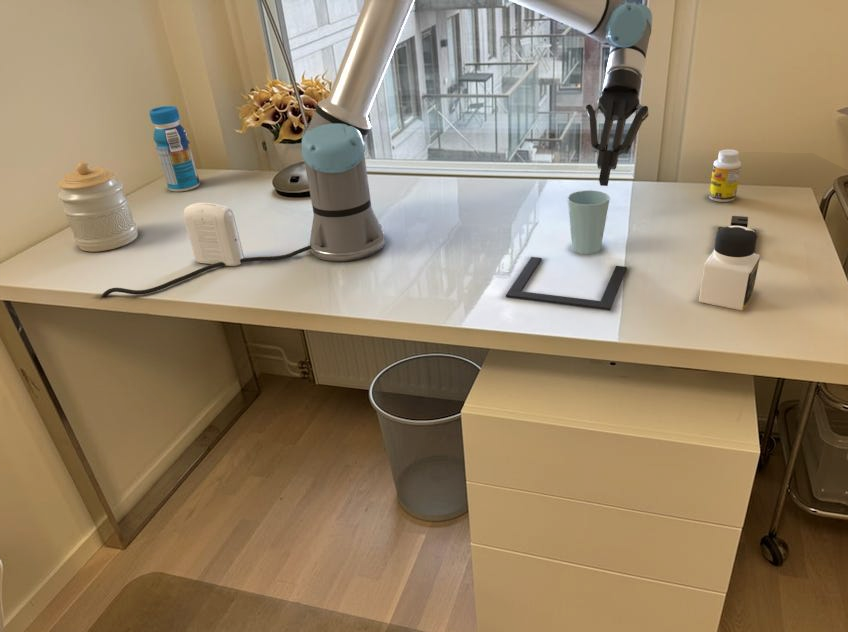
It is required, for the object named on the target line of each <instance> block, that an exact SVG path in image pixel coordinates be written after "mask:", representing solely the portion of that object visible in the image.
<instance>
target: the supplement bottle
mask: <svg viewBox="0 0 848 632" xmlns="http://www.w3.org/2000/svg"><path fill="white" fill-rule="evenodd" d="M739 155H740V151H738V150H735V149H730V148H729V149H722V150H719V151H718V155H717V159H715V160H714V161H713V165H712V172H711V179H710V185H709V191H708V192H709V193H708V197H709V199H711V201H714V202H716V203H717V202H719V203H729V202H732V201H734V200H735V199H736V197H737V191H738V186H739V180H740V175H741V169H742V168H741V167H742V162H741V161H740V160H739Z"/></svg>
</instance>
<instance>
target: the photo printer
mask: <svg viewBox="0 0 848 632" xmlns="http://www.w3.org/2000/svg"><path fill="white" fill-rule="evenodd" d="M183 221H184V224H185V227H186V230H187V236H188V238H189V240H190V246H191V248H192V252H193V256H194V259H195V262H197V263H200V264H206V265H207V264H208V265H212V264H216V263H219V262H223V263H225V265H224V266H228V267H235V266H236V267H237V266H239V265H241V264H242V263H241V262H240V260H241V259H243V258H245V257H244V251H243V247H242V242H241V239H240V233H239V229H238V226H237V225H238V224H237V220H236V217H235V214H234V211H233V210H232V209H231V208H229V207H227V206H224V205H222V204H219V203H214V202H196V203H192V204H189V205H188V206H186V207H185V208H184V209H183Z"/></svg>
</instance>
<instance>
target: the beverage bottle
mask: <svg viewBox="0 0 848 632" xmlns="http://www.w3.org/2000/svg"><path fill="white" fill-rule="evenodd" d="M148 113H149V118H150V120H151V123H152V125H153V126H155V127H154V131H153V141H154V143H155V144H156V145H155V151H156V153H157V155H158V158H159V161H160V165H161V168H162V171H163V174H164V177H165V181H166V185H167V188H168V190H169V191H171V192H175V193H177V192H179V193H180V192H187V191H191V190H194V189H196V188H198V187H199V186H200V184H201V181H200V178H199V175H198V171H197V167H196V164H195V163H196V162H195V160H194V155H193V152H192V145H191V142H190V140H189V139H188V133H187V131H186V129H185V128H184V127H183V125H182V124H180V123H179V122H180V121H181V118H180V114H179V110H178V108H177V106H176V105H175V106H174V105H165V106H164V105H163V106H158V107H153V108H151V109H149V111H148Z"/></svg>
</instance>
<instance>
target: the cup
mask: <svg viewBox="0 0 848 632" xmlns="http://www.w3.org/2000/svg"><path fill="white" fill-rule="evenodd" d="M610 199H611V198H610V195H608V193H605V192H602V191H598V190H579V191H575V192H572V193H570V194H568V196H567V207H568V216H569V228H570V243H571V250H572V251H573V252H574V253H576V254H579V255H593V254H597V253H599V252H600V251H601V249H602V244H603V239H604V233H605V228H606V227H605V226H606V221H607V217H608V216H607V215H608V210H609V206H610Z"/></svg>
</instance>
